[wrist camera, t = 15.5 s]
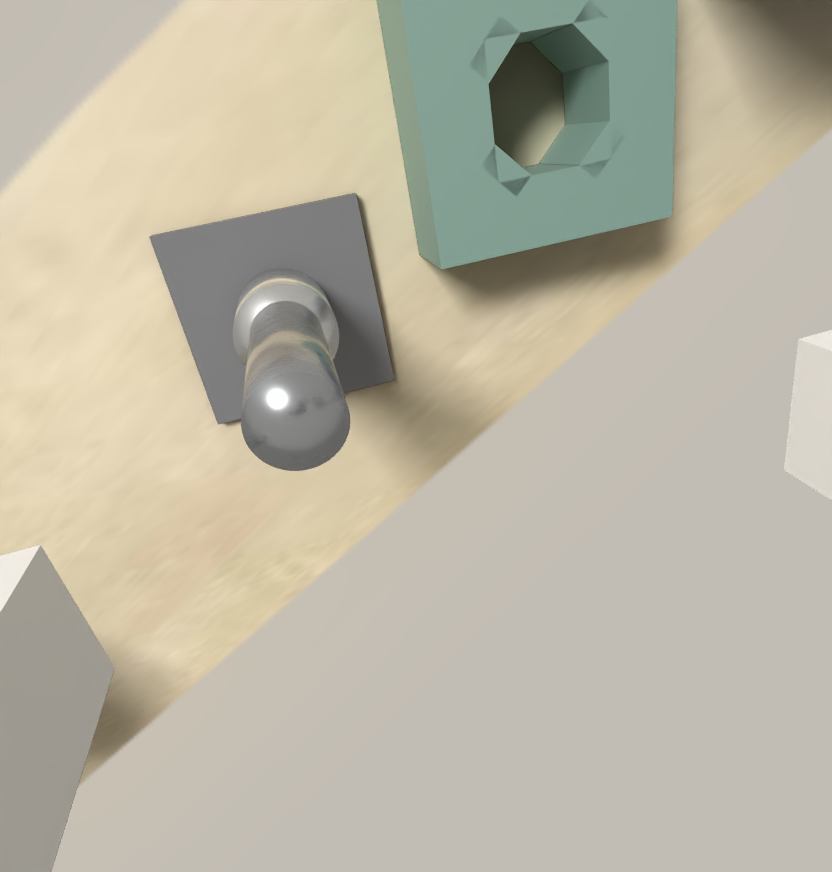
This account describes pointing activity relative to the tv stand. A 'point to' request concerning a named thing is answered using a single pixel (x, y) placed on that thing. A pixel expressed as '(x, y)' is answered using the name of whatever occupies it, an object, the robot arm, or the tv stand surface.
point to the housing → (573, 147)
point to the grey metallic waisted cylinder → (289, 371)
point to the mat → (263, 250)
